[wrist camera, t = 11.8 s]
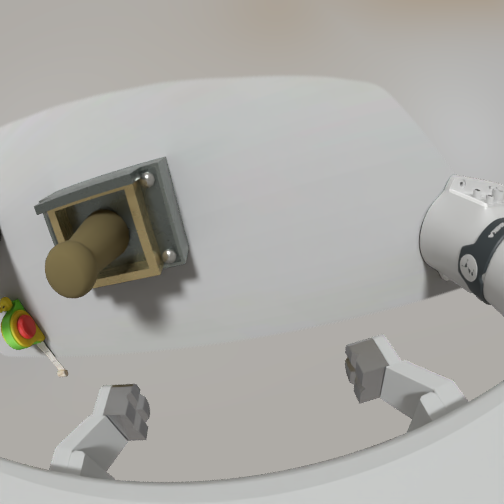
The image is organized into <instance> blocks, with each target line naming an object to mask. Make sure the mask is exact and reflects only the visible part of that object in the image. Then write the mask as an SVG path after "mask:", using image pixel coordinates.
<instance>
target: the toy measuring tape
mask: <svg viewBox="0 0 504 504" xmlns="http://www.w3.org/2000/svg"><path fill="white" fill-rule="evenodd" d="M3 311H7V313H6V314H5V316H4V317H3V319H2V322H1V332H2V336H3V338H4V340H5V341H6V343H7V344H8V345H9V346H10V347H12V348H13V349H16V350H21V349H24V348H28V347H30V346H31V345H34V344H37V346H38V347H39V348H40V349H41V350H42V351H43V352H44V353H45V354H46V355H47V356H48V358H49V359H50V360H51V361H52V363H53V364H54V365H55V366H56V367H57V369H58V372H57V374H58V376H59V377H65V376H68V372H67V370H65V369H64V367H63V366H62V365H61V364H60V363H59V361H57V359H56V358H55V357H54V355H53V354H52V353H51V351H50V350H49V349H48V348H47V346H46V345H45V343H44V342H43V341H44V340H45V336H44V335H43V333H42V332H41V330H40V329H39V327H38V326H37V324H36V323H35V321H34V320H33V319H32V317H31V316H30V315H29V314H28V313H27V312H26V311H25V309H24V308H23V306H22V304H21V303H20V301H19V300H18V299H17V300H14V301H12V302H11V300H10V299H9V298H8V297H3V298H2V299H1V300H0V313H2V312H3Z"/></svg>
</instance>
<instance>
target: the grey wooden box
mask: <svg viewBox="0 0 504 504" xmlns="http://www.w3.org/2000/svg"><path fill="white" fill-rule="evenodd" d="M34 208H35V211H36V214H37V215H39V214H41V213H43V215H44V218H45V221H46V224H47V226H48V229H49V232H50V235H51V237H52V240H53V243H54V245H55V246H56V245H57V244H58V243H61V242H64V241H68V240H69V239H70V238H71V237H72V235H73V234H74V233H75V232H76V230H77V229H78V228H79V227H80V225H81V224H82V223H83V222H84V221H85V219H86V218H87V217H88V216H89V215H90V214H91V213H92V212H94V211H97V210H100V209H108V210H110V211H113V212H115V213H117V214H118V215H119V216H120V217H121V218H122V219H123V220H124V222H125V223H126V225H127V228H128V231H129V242H128V246H127V248H126V250H125V251H124V253H122V254H121V255H120V256H119V257H117V258H116V259H115V260H114V261H112V262H111V263H110V264H109V265H107V266H106V267H105V268H104V269H102V270H101V271H100V272H99V273H98V274H97V279H96V282H95V284H94V286H93V288H97V287H102V286H107V285H112V284H117V283H122V282H127V281H132V280H137V279H141V278H146V277H151V276H156V275H161V272H162V269H163V268H168V267H173V266H178V265H182V264H186V259H187V254H188V249H189V245H188V241H187V238H186V234H185V230H184V227H183V223H182V219H181V216H180V212H179V208H178V204H177V200H176V196H175V193H174V189H173V185H172V181H171V177H170V172H169V168H168V164H167V160H166V157H163V158H159V159H155V160H151V161H148V162H144V163H141V164H137V165H134V166H130V167H127V168H124V169H120V170H117V171H114V172H111V173H108V174H105V175H101V176H98V177H95V178H92V179H90V180H87V181H84V182H81V183H78V184H75V185H72V186H70V187H67V188H64V189H61V190H59V191H57V192H55V193H53V194H51V195H49V196H47V197H46V198H44V199H42V200H40V201H39V204H37V205H36V206H34Z"/></svg>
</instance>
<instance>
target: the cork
mask: <svg viewBox="0 0 504 504" xmlns="http://www.w3.org/2000/svg"><path fill="white" fill-rule="evenodd" d="M128 242H129V231H128V228H127V225H126V223H125V222H124V220H123V219H122V218H121V217H120V216H119V215H118V214H117V213H115V212H113V211H110V210H108V209H100V210H97V211H94V212H92V213H91V214H90V215H89V216H88V217H87V218H86V219H85V221H84V222H83V223H82V224H81V225H80V227H79V228H78V229H77V230H76V232H75V233H74V234H73V235H72V237H71V238H70V239H69V240H68V241H64V242H61V243H58V244H57V245H56V246H55V247H54V248H53V249H51V250H50V252H49V254H48V256H47V258H46V262H45V273H46V278H47V280H48V282H49V284H50V285H51V287H52V288H53V289H54V290H55V291H56V292H57V293H58V294H60V295H62V296H64V297H66V298H79V297H82V296H84V295H85V294H87V293H88V292H89V291H90V290H91V289H92V288H93V286H94V284H95V282H96V279H97V274H98V273H99V272H100V271H101V270H102V269H104V268H105V267H106V266H107V265H109V264H110V263H111V262H112V261H114V260H115V259H116V258H117V257H119V256H120V255H121V254H122V253H124V251H125V250H126V248H127V246H128Z"/></svg>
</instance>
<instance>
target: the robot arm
mask: <svg viewBox="0 0 504 504" xmlns="http://www.w3.org/2000/svg"><path fill="white" fill-rule="evenodd" d="M420 249H421V253H422V256H423V258H424V260H425V262H426V263H427V264H428V265H429V266H431V267H432V268H434V269H436V270H437V271H438V272H439V274H440V276H441V278H442V279H444V280H445V281H449V280H452V281H453V282H455V283H456V284H458V285H459V286H461V287H462V288H464V289H465V290H467V291H468V292H470V293H474V294H475V295H476V297H477V298H478V299H480V300H481V301H483V302H484V303H486V304H488V305H492V306H493V307H494V308H495V309H496V310H497V311H499V312H500V313H501V314H502V315H503V316H504V186H503V185H502V184H500V183H497V182H492V181H487V180H482V179H477V178H471V177H466V176H460V175H452V176H451V177H450V179H449V180H448V182H447V185H446V187H445V189H444V191H443V192H442V194H441V195H440V196H439V197H438V198H437V199H436V200H435V201H434V203H433V204H432V205H431V207H430V208H429V210H428V212H427V214H426V216H425V219H424V221H423V225H422V228H421V234H420ZM345 353H346V354H347V359H346V360H345V368H346V373H347V376H348V379H349V381H350V383H352V384H354V392H355V395H356V397H357V399H358V401H359V403H363V402H366V401H370V400H373V399H376V398H379V397H380V398H381V399H382V400H384V401H385V402H387V403H388V404H390V405H391V406H393V407H394V408H396V409H397V410H399V411H401V412H402V413H403V414H405V415H407V416H408V417H410V418H411V419H412V422H411V424H410V426H409V429H408V431H407V433H405V434H403V435H400V436H398V437H395V438H393V439H390V440H388V441H386V442H383V443H380V444H377V445H374V446H372V447H369V448H366V449H363V450H360V451H357V452H354V453H351V454H348V455H344V456H341V457H338V458H334V459H331V460H327V461H323V462H319V463H315V464H311V465H307V466H302V467H298V468H293V469H289V470H284V471H279V472H273V473H267V474H261V475H255V476H248V477H240V478H231V479H221V480H210V481H193V482H137V481H120V480H115V479H114V478H113V477H112V476H111V475H109V474H108V473H107V472H106V471H107V470H108V468H109V467H110V466H111V464H112V463H113V462H114V460H115V459H116V458H117V456H118V455H119V454H120V452H121V451H122V449H123V448H124V447H125V445H126V444H127V443H128V441H131V440H146V438H147V431H148V426H147V425H146V423H145V422H146V421H147V420H148V419H149V416H150V408H149V404H148V402H147V399H146V398H145V397H144V396H143V395H141V394H140V389H139V387H138V386H137V385H136V384H126V385H105V386H104V385H103V386H102V387H101V388H100V391H99V394H98V398H97V400H96V404H95V407H94V410H93V413H92V415H89V416H88V417H87V418H86V419H85V420H84V421H83V422H82V423H81V424H80V425H79V426H78V427H76V428H75V429H74V430H73V431H72V432H71V433H70V434H69V435H68V436H67V437H66V438H65V439H64V440H63V441H62V442H61V443H60V444H59V445H58V446H57V447H56V448H55V452H54V455H53V458H52V462H51V466H50V468H49V470H46V469H41V468H37V467H33V466H29V465H26V464H22V463H18V462H15V461H11V460H8V459H5V458H2V457H0V504H504V380H503V381H502V382H500V383H499V384H497V385H496V386H494V387H493V388H491V389H490V390H488V391H486V392H485V393H483V394H482V395H480V396H478V397H477V398H475V399H473V400H471V401H470V402H468V400H467V399H466V397H465V396H464V394H463V393H462V392H461V390H460V389H459V387H458V386H457V385H456V383H455V382H454V380H451V379H449V378H447V377H444V376H442V375H440V374H437V373H435V372H433V371H430V370H428V369H426V368H423V367H421V366H418V365H416V364H414V363H412V362H409V361H407V360H403V361H402V360H401V359H400V357H399V356H398V354H397V353H396V351H395V350H394V348H393V347H392V345H391V344H390V342H389V341H388V339H387V338H386V336H385V335H383V334H381V335H378V336H374V337H371V338H368V339H365V340H362V341H359V342H355V343H352V344H348V345H347V346H346V351H345Z"/></svg>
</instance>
